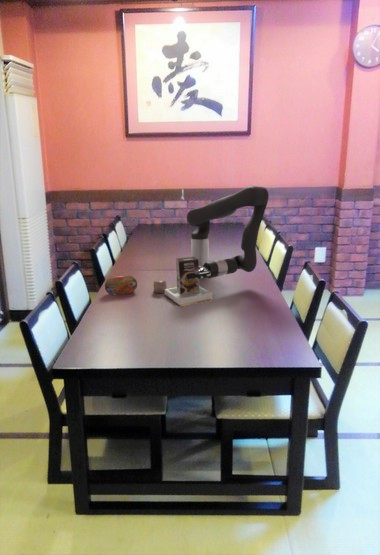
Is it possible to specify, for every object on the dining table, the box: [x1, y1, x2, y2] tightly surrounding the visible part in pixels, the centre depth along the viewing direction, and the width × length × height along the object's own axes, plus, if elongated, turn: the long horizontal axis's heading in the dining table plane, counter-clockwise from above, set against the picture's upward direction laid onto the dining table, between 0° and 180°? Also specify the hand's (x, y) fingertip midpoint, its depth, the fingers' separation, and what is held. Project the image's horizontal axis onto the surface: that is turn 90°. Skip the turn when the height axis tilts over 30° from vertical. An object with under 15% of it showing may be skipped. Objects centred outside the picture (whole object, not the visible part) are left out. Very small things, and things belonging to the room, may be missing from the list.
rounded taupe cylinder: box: [153, 279, 167, 294], centre depth 222 cm, size 6×6×5 cm
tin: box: [104, 274, 138, 296], centre depth 221 cm, size 15×3×8 cm, turn 105°
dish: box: [164, 285, 213, 306], centre depth 213 cm, size 16×16×3 cm
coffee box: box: [175, 256, 200, 296], centre depth 210 cm, size 9×6×16 cm
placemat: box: [179, 298, 213, 307], centre depth 214 cm, size 18×15×1 cm
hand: (183, 274), depth 209 cm, fingers closed on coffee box, 7 cm apart
